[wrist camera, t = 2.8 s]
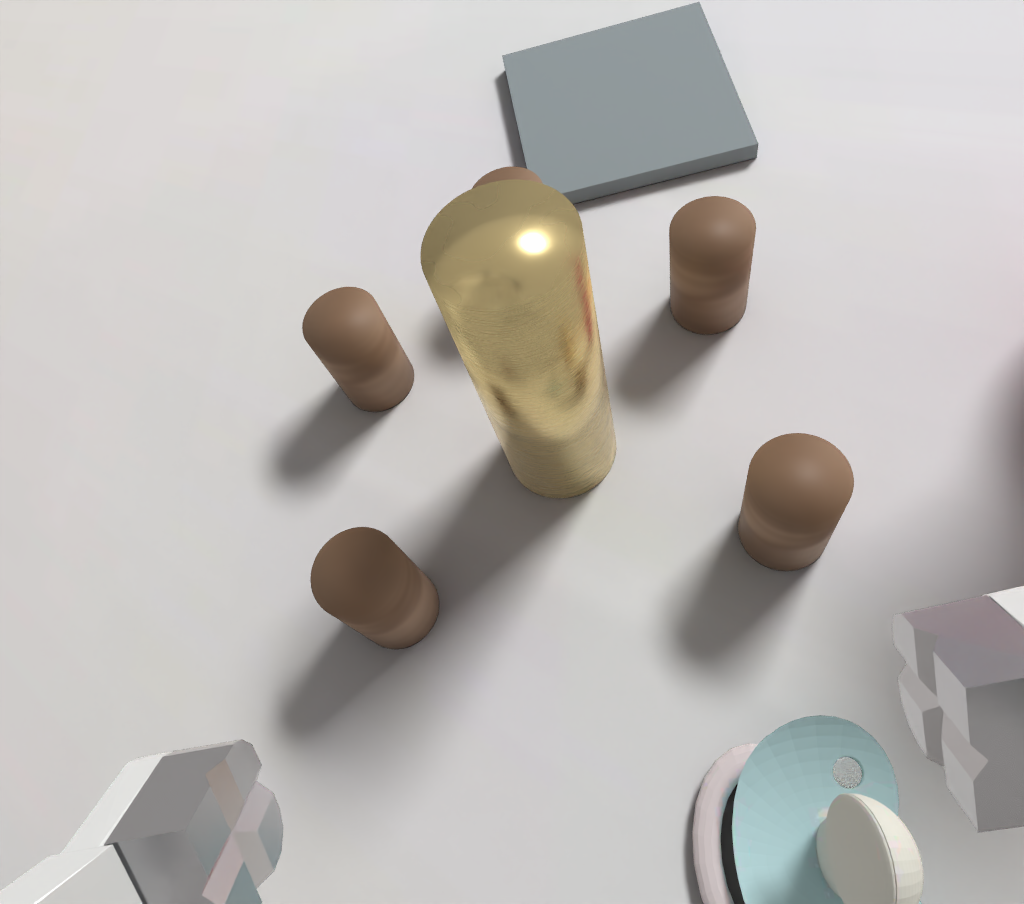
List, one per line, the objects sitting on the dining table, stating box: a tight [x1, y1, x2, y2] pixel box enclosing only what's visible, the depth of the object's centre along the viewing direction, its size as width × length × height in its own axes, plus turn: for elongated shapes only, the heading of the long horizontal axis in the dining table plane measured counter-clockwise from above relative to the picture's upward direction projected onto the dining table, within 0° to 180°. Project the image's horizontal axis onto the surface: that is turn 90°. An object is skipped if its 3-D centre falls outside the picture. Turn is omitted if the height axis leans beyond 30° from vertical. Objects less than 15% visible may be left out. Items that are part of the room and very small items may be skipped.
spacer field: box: [302, 167, 854, 649], centre depth 30 cm, size 17×17×4 cm
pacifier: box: [692, 715, 923, 904], centre depth 21 cm, size 7×6×6 cm
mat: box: [502, 2, 758, 204], centre depth 37 cm, size 10×10×1 cm
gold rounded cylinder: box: [421, 180, 616, 498], centre depth 25 cm, size 4×4×12 cm
